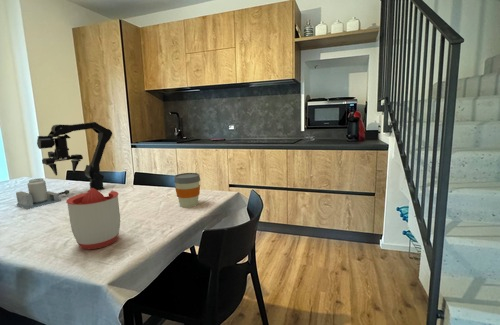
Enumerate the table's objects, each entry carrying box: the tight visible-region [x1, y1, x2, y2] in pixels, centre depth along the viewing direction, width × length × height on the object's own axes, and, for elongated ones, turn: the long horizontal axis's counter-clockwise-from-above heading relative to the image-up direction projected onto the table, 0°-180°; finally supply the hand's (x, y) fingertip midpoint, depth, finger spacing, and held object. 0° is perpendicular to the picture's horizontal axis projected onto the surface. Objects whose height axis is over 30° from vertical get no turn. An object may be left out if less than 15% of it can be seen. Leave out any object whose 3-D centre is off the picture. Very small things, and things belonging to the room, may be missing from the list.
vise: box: [15, 189, 70, 210], centre depth 145 cm, size 22×13×7 cm, turn 148°
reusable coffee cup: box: [173, 172, 201, 208], centre depth 133 cm, size 13×12×15 cm
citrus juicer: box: [65, 188, 121, 250], centre depth 94 cm, size 16×17×20 cm
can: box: [27, 178, 48, 203], centre depth 142 cm, size 8×8×12 cm
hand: (65, 173), depth 154 cm, fingers open, 9 cm apart
